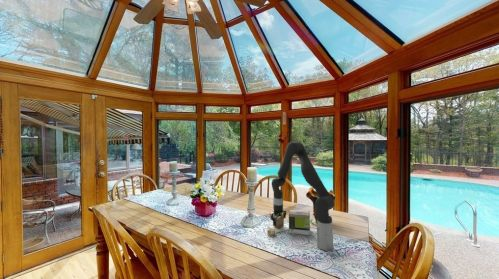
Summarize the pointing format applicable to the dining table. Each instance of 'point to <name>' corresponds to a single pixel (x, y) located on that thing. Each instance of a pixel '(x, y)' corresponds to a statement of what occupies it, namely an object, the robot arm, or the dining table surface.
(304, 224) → the tea box
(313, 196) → the decorative vase
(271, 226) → the plate
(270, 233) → the maple block
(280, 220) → the walnut cube
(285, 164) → the robot arm
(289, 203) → the dining table surface
